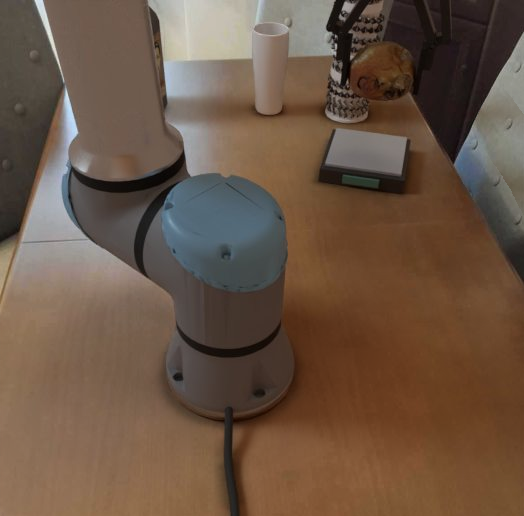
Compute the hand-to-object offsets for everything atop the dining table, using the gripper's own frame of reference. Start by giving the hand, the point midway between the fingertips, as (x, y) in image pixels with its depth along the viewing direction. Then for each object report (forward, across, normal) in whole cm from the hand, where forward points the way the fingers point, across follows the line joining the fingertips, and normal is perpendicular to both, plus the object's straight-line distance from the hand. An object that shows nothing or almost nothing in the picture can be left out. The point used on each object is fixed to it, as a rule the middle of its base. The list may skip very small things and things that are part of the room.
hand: (379, 86), depth 90 cm
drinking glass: (+16, +22, -20) cm, 34 cm away
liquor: (+16, +46, -13) cm, 50 cm away
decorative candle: (+16, +7, -24) cm, 29 cm away
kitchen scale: (+16, 0, -4) cm, 17 cm away
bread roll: (0, 0, 0) cm, 0 cm away
